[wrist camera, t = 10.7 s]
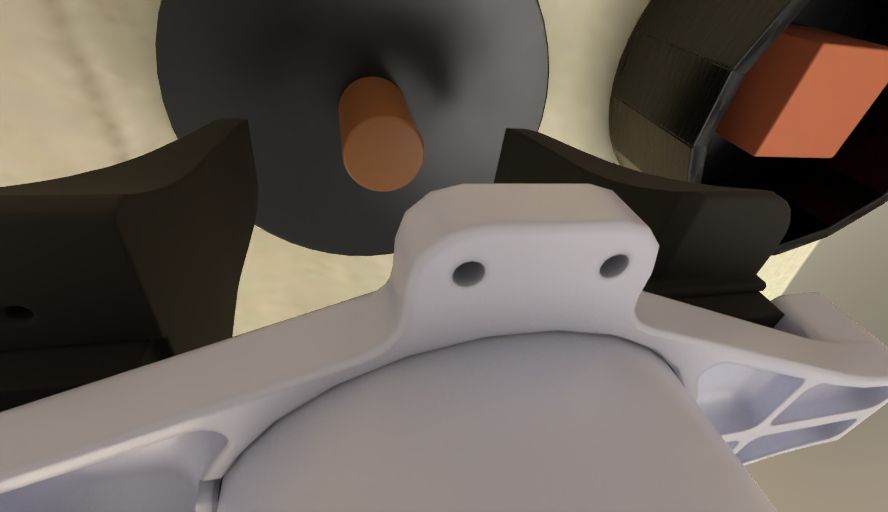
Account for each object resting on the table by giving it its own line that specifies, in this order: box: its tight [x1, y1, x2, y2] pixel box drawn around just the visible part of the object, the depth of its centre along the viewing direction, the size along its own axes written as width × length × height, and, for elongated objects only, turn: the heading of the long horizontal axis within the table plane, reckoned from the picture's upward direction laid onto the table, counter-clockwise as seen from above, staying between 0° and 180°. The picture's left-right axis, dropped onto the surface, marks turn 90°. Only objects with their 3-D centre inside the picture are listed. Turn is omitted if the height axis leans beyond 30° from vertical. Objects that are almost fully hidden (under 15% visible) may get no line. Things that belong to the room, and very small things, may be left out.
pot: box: [609, 0, 888, 255], centre depth 17 cm, size 12×12×5 cm
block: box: [714, 24, 888, 158], centre depth 17 cm, size 4×4×4 cm
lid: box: [155, 0, 549, 256], centre depth 14 cm, size 13×13×5 cm
